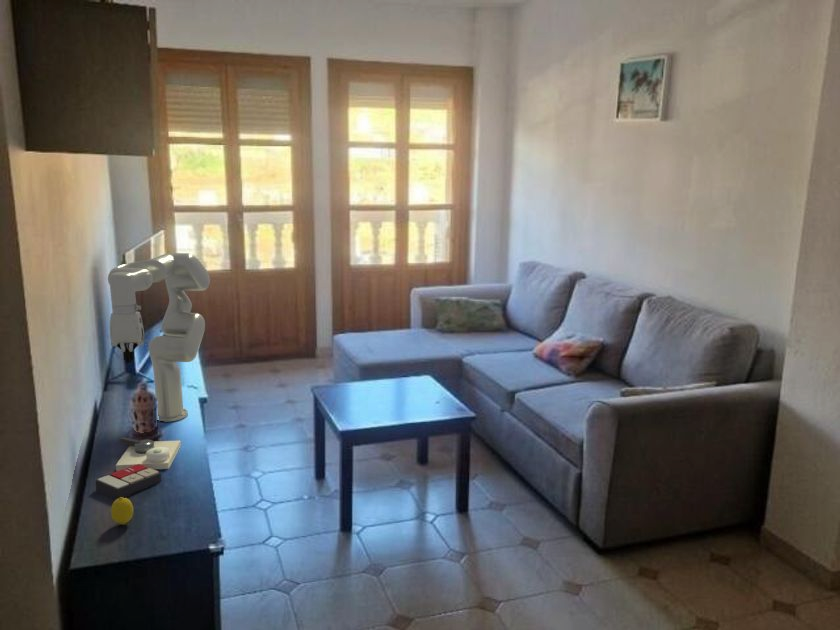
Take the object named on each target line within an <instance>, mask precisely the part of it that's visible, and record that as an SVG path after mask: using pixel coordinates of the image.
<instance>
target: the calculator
mask: <svg viewBox="0 0 840 630" xmlns="http://www.w3.org/2000/svg"><path fill="white" fill-rule="evenodd" d="M160 482H162V473H161V472H160V471H158V470H157V469H151V468H148V467H146V466H143V465H141V464H137V465H134V466H131V467H128V468H125V469H123V470H120V471H114V472H112V473H110V474H109V475H105V476H102V477H99V478H97V479H96V480H95V491H96V492H97V493H99V494H102V495H104V496H107V497H108V498H110V499H113V500H114V501H115V500H117V499H118V498H120V497H123V498H124V497H125V498H127V497H129V496H131V495H132V493H133V494H134V493H137V491H138V492H140V491H142V490H141V489H143V490H145V489H147V488H150V487H151V485H152V486H154V485H156V484H158V483H160ZM146 487H147V488H146ZM144 488H145V489H144ZM139 490H140V491H139ZM130 494H131V495H130ZM128 495H129V496H128Z"/></svg>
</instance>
